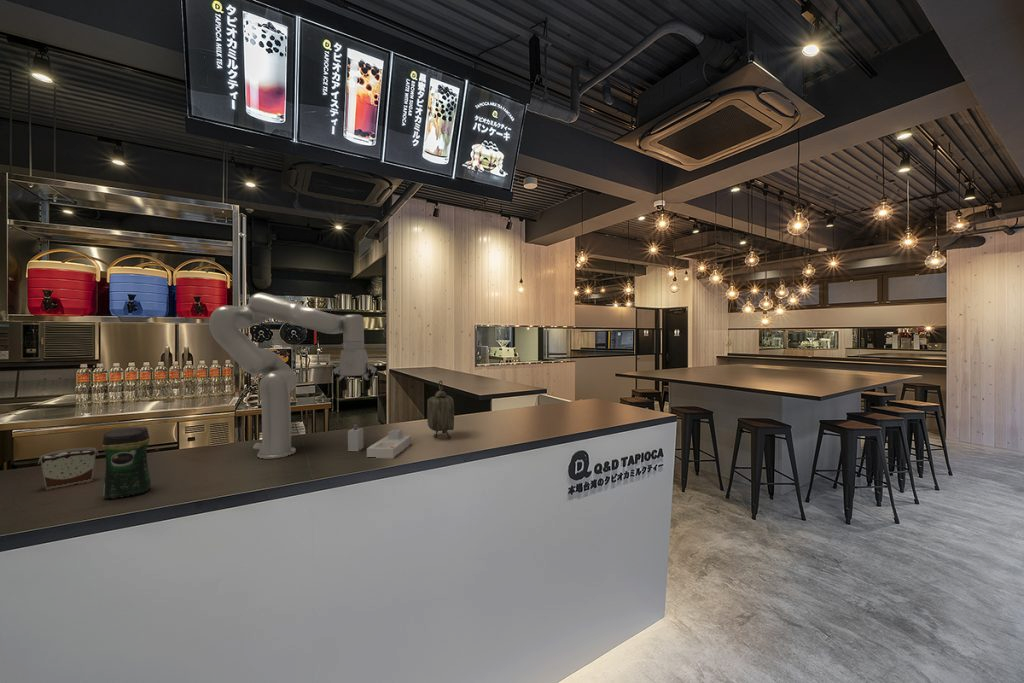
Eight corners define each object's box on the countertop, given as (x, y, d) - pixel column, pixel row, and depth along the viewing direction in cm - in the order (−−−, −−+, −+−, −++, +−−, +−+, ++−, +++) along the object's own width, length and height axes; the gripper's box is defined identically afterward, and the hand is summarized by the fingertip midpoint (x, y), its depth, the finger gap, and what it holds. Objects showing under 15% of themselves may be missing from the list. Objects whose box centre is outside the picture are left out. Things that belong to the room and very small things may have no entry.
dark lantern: (454, 440, 175) (453, 381, 174) (433, 442, 171) (432, 382, 171) (446, 432, 188) (446, 378, 188) (427, 434, 185) (426, 379, 185)
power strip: (366, 457, 149) (366, 440, 149) (387, 443, 169) (387, 428, 169) (393, 458, 149) (393, 440, 148) (411, 444, 168) (411, 428, 168)
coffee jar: (153, 486, 122) (152, 423, 121) (146, 495, 115) (145, 429, 115) (109, 492, 117) (108, 427, 117) (98, 502, 110) (97, 433, 110)
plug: (347, 451, 158) (347, 425, 158) (353, 448, 163) (353, 423, 162) (357, 451, 158) (357, 425, 158) (363, 448, 162) (363, 423, 162)
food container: (96, 476, 131) (96, 445, 131) (98, 480, 127) (98, 448, 127) (37, 487, 121) (36, 453, 121) (38, 492, 117) (37, 457, 117)
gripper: (327, 347, 156) (329, 391, 157) (370, 346, 154) (372, 391, 155) (338, 346, 164) (339, 389, 164) (379, 345, 162) (380, 388, 162)
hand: (355, 390), depth 159 cm, fingers open, 9 cm apart
